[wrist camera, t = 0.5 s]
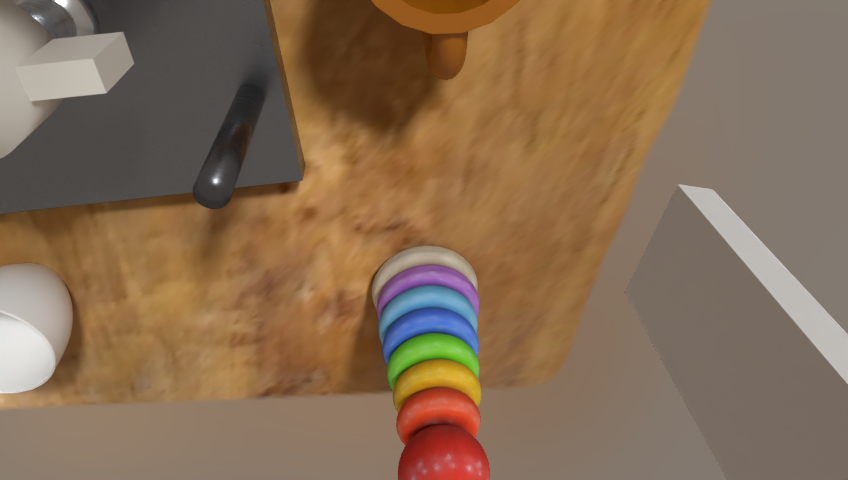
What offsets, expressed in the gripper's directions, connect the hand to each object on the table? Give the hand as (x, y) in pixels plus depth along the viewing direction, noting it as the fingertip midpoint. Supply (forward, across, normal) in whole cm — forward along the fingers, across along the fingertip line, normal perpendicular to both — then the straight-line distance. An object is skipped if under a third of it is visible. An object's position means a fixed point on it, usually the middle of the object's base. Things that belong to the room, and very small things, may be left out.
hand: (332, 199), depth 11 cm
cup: (+27, -20, -26) cm, 43 cm away
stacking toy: (+27, +8, -22) cm, 36 cm away
